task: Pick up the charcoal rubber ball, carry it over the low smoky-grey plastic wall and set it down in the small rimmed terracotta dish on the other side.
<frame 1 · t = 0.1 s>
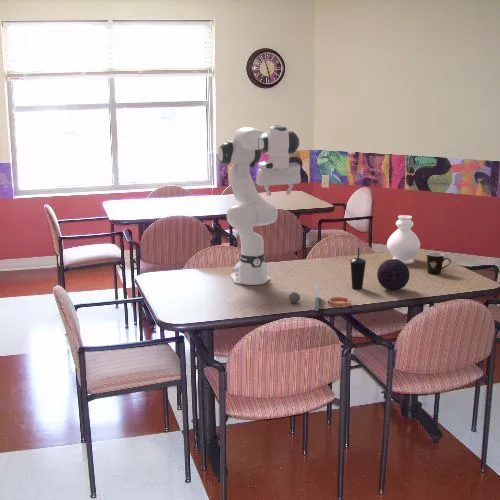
hand: (278, 194, 310), 48 cm above the table, tool pointing down, fingers open, 8 cm apart
ball: (294, 297, 314), point 2 cm above the table
toy ball: (392, 290, 334), on the table
dish: (339, 304, 313), on the table
decorative vase: (402, 261, 388), on the table
coffee mug: (436, 274, 362), on the table
drinking cup: (357, 288, 337), on the table
wall: (316, 303, 314), on the table
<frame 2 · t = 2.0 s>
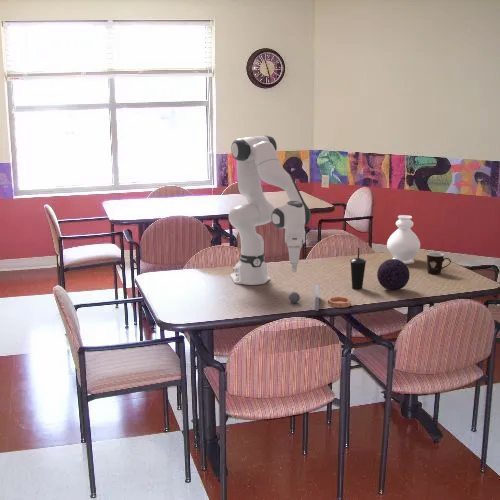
hand: (294, 269, 311), 16 cm above the table, tool pointing down, fingers open, 8 cm apart
nothing on the table moved.
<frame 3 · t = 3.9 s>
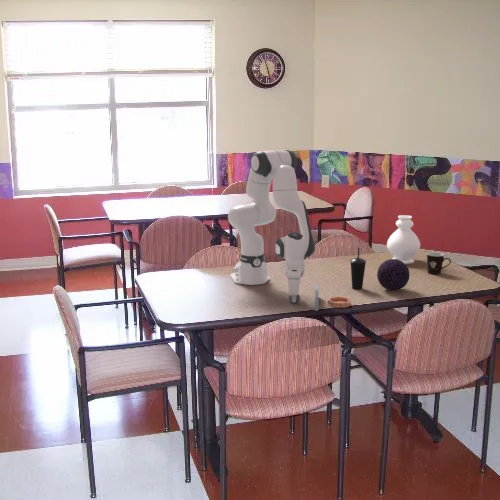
hand: (294, 299, 314), 2 cm above the table, tool pointing down, fingers closed on ball, 5 cm apart
ball: (294, 297, 314), point 2 cm above the table, touching gripper
everything else where it was.
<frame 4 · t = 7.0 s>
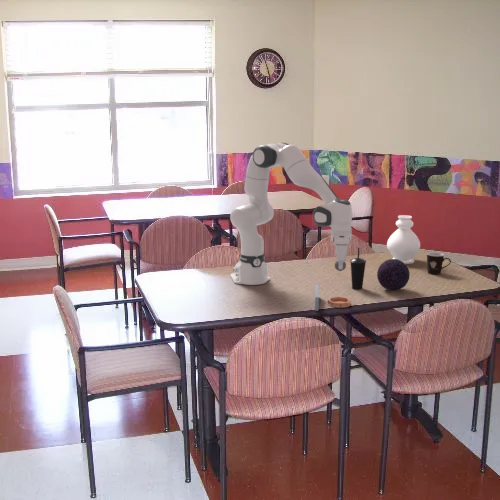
hand: (340, 267, 309), 17 cm above the table, tool pointing down, fingers closed on ball, 5 cm apart
ball: (340, 265, 309), point 18 cm above the table, touching gripper
everything else where it was.
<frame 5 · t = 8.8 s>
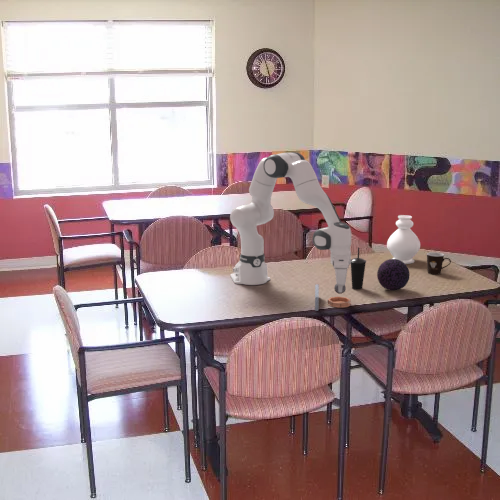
hand: (339, 290, 311), 7 cm above the table, tool pointing down, fingers closed on ball, 5 cm apart
ball: (340, 288, 311), point 7 cm above the table, touching gripper
everything else where it was.
when the fingers open (3 cm above the table, at t = 10.4 s): ball stays where it is, resting on dish.
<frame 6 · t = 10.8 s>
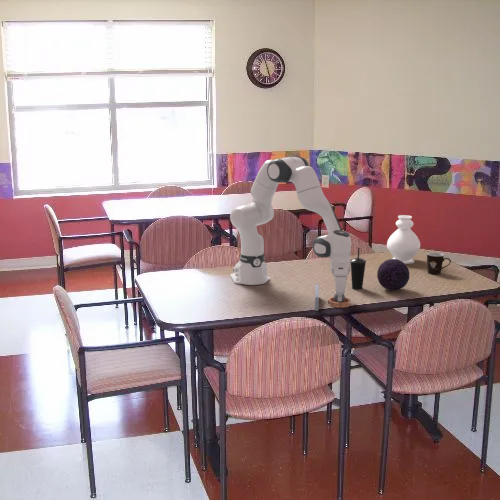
hand: (339, 297, 312), 3 cm above the table, tool pointing down, fingers open, 8 cm apart
ball: (339, 297, 312), point 3 cm above the table, tilted 7°, touching dish
everything else where it was.
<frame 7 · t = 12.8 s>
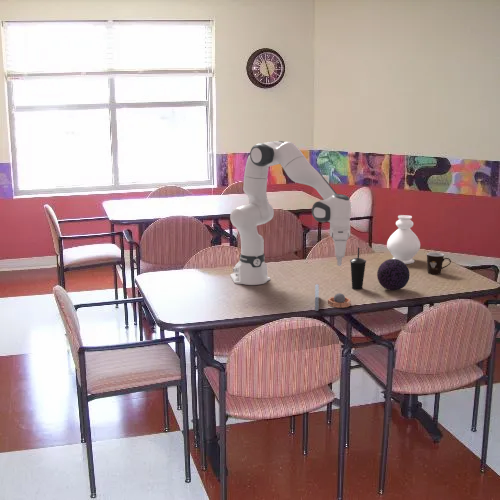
hand: (338, 262, 309), 19 cm above the table, tool pointing down, fingers open, 8 cm apart
ball: (339, 298, 310), point 3 cm above the table, tilted 42°, touching dish
everything else where it was.
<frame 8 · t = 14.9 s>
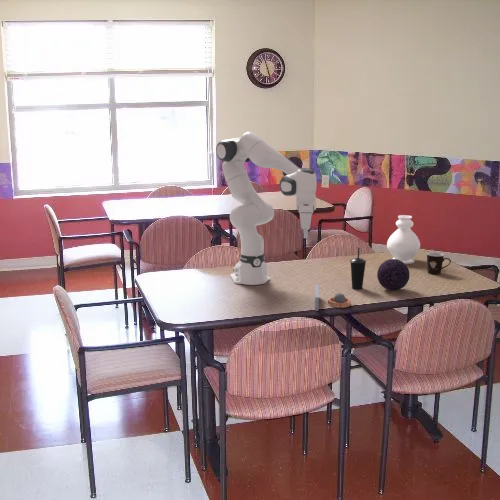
hand: (305, 235, 316), 29 cm above the table, tool pointing down, fingers open, 8 cm apart
nothing on the table moved.
at the end: ball 1.6 cm off-centre on the dish, point 3.0 cm above the dish's base; the gripper is holding nothing; ball moved 20.1 cm from its start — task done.
